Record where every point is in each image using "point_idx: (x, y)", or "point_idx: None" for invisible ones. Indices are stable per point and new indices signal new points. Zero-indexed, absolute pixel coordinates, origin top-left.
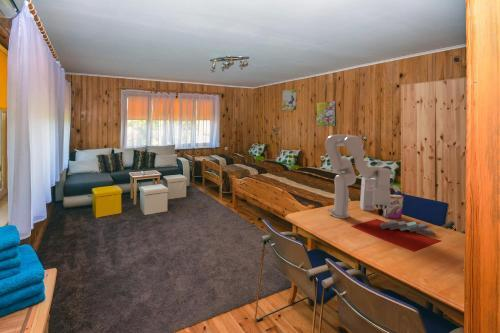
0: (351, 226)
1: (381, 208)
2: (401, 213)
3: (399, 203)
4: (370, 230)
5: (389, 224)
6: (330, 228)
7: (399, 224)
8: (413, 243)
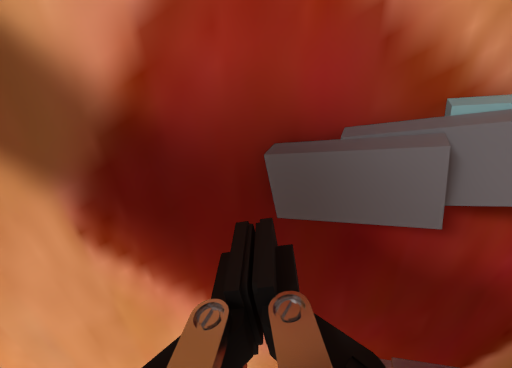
0: (78, 238)
1: (269, 350)
2: None
3: None
4: (211, 254)
5: (352, 222)
6: (2, 313)
7: (456, 193)
8: (452, 332)
